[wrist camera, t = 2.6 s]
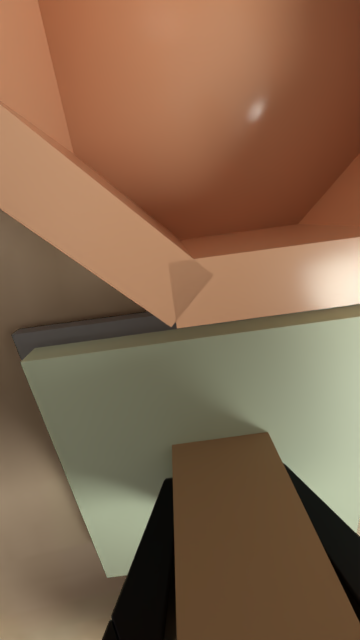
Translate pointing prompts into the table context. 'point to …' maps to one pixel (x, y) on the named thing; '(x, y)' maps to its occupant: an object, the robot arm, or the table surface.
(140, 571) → the robot arm
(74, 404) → the cover board
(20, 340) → the mat
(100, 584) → the table surface
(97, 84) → the bowl
